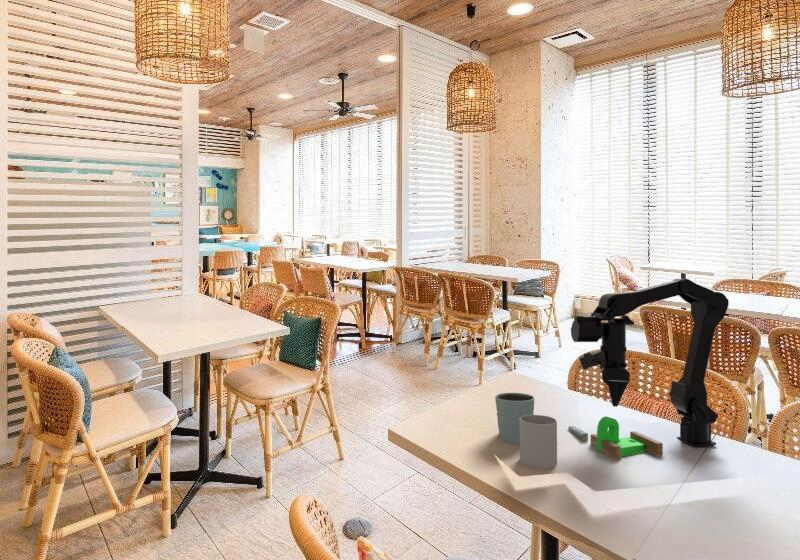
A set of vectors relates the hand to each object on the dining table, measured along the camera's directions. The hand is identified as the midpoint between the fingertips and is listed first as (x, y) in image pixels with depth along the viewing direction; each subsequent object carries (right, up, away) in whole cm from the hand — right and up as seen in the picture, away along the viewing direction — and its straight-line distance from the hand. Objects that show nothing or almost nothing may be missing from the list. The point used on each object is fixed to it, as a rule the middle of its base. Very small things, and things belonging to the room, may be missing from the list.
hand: (613, 402), depth 128 cm
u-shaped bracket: (-13, -11, +4) cm, 17 cm away
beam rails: (+1, -11, -4) cm, 12 cm away
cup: (-23, -11, -12) cm, 28 cm away
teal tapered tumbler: (-25, -11, +3) cm, 28 cm away
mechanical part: (+1, -11, -4) cm, 12 cm away
